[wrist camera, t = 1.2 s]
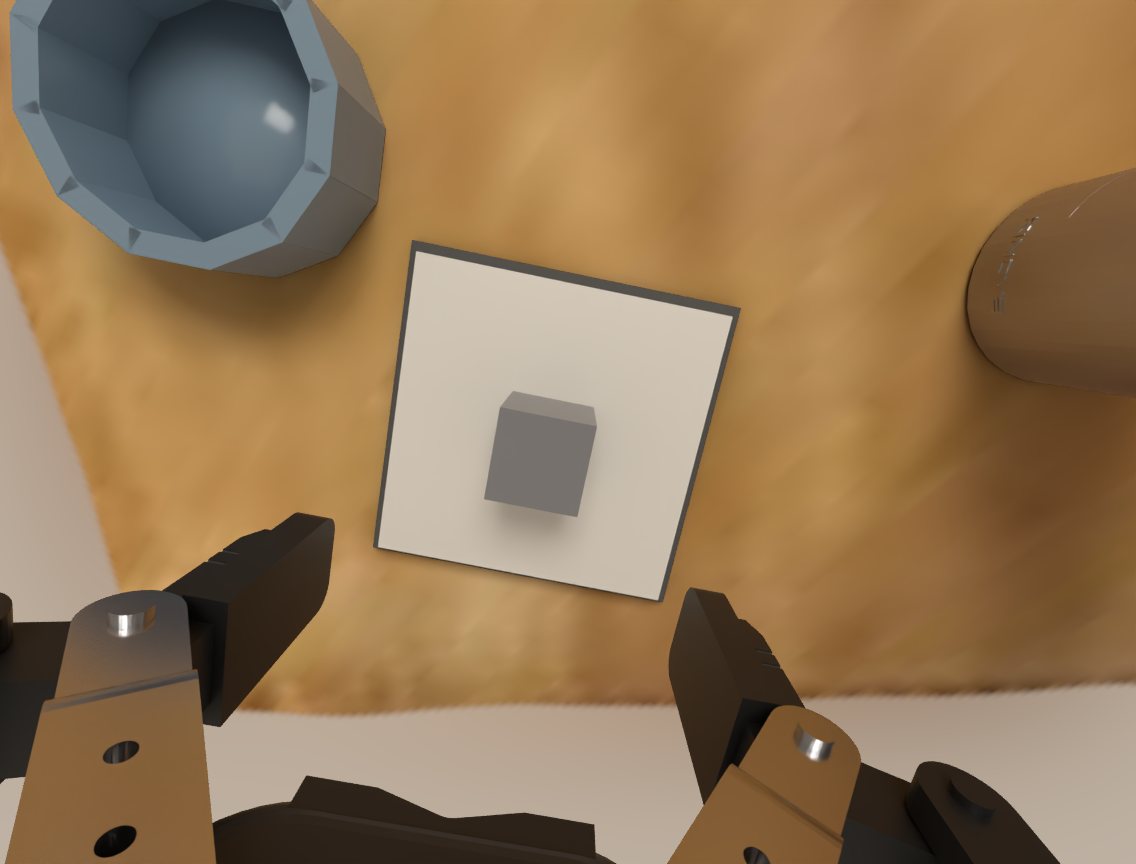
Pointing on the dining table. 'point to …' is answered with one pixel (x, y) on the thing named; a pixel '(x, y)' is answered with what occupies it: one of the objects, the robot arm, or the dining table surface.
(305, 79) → the bowl
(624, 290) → the mat
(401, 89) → the dining table surface
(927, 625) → the dining table surface
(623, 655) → the dining table surface
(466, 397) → the lid
